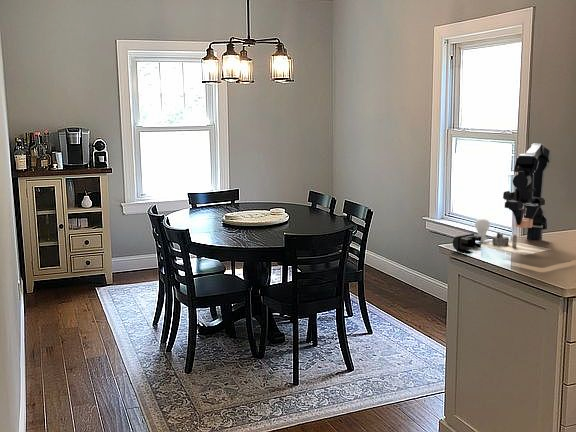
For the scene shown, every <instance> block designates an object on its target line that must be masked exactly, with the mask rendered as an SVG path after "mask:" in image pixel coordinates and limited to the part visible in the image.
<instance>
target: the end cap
mask: <svg viewBox="0 0 576 432" xmlns="http://www.w3.org/2000/svg"><path fill="white" fill-rule="evenodd" d="M476 241H479V242H480V241H481V237H479V236H478V235H475V233H474V232H473V233H467V234H464V235H463V234H462V235H457V236H455V237H454V238H453V239H452V247H453V248H454V250H456V252H458V253H459V254H466V255H468V254H472V253H474V251H471V250H472V248H473V249H480V248H481V247H482V246H481V244H482V243H479V242H476Z"/></svg>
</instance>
